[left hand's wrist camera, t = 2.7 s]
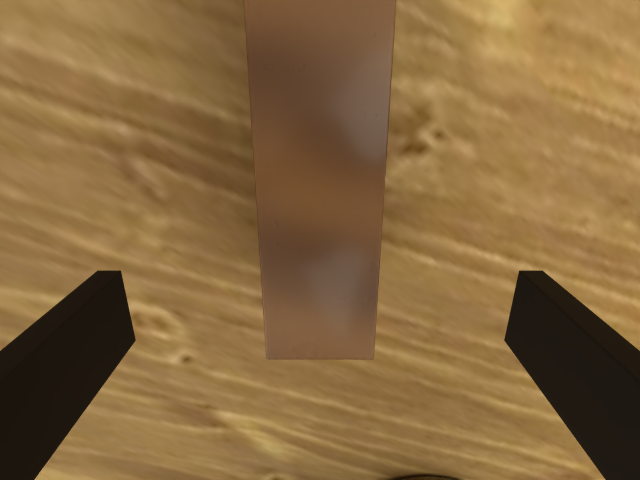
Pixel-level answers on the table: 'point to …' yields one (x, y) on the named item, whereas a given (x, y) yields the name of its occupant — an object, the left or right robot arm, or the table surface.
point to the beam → (320, 169)
